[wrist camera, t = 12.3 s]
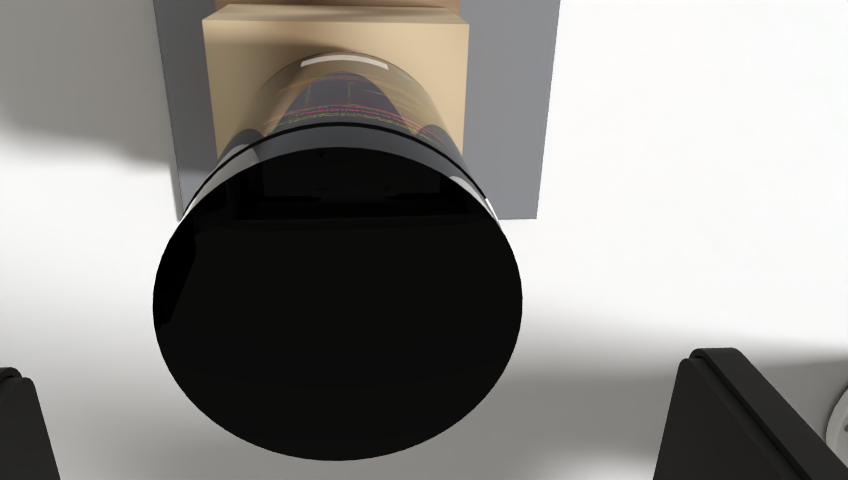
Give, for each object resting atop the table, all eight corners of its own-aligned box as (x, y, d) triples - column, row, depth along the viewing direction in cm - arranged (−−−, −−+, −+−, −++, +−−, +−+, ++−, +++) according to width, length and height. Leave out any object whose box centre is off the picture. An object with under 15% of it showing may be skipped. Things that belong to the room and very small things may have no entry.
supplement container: (259, 253, 22) (197, 482, 13) (219, 54, 19) (102, 166, 10) (451, 232, 23) (524, 440, 14) (440, 35, 20) (525, 125, 11)
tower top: (446, 7, 24) (469, 24, 20) (438, 203, 28) (456, 256, 23) (229, 3, 23) (201, 20, 19) (249, 206, 27) (229, 261, 22)
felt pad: (577, -181, 27) (580, -183, 26) (534, 215, 35) (536, 219, 34) (126, -204, 25) (123, -206, 25) (187, 222, 33) (185, 225, 32)
